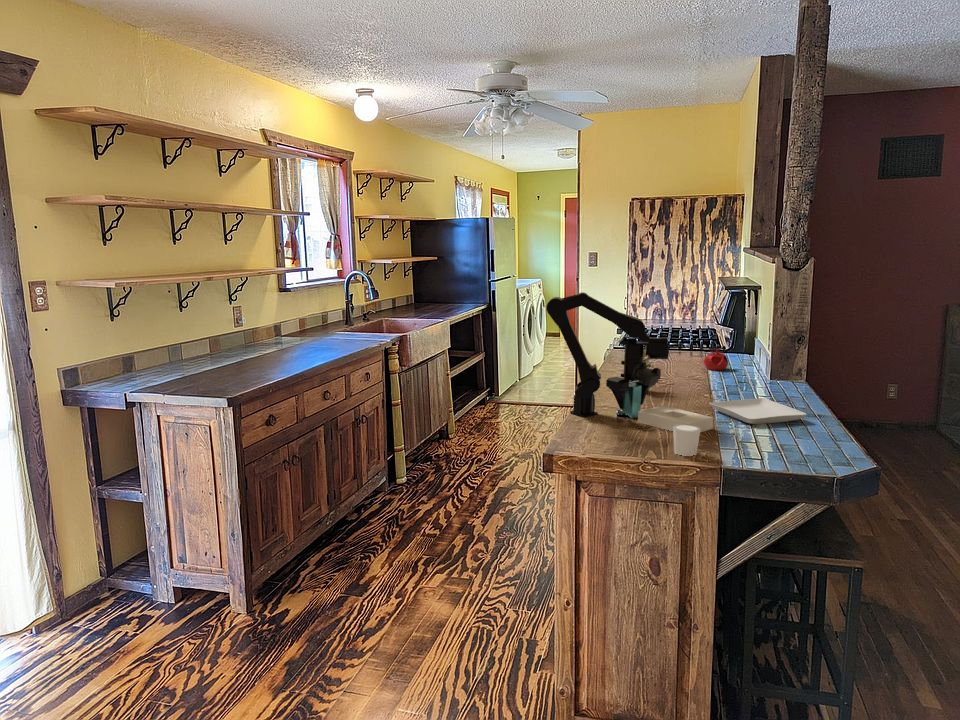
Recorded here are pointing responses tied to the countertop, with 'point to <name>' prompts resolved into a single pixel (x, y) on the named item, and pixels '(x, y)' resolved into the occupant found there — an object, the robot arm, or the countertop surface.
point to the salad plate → (758, 411)
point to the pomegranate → (716, 361)
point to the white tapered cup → (686, 439)
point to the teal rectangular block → (632, 401)
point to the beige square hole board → (673, 418)
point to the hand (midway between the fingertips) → (631, 406)
